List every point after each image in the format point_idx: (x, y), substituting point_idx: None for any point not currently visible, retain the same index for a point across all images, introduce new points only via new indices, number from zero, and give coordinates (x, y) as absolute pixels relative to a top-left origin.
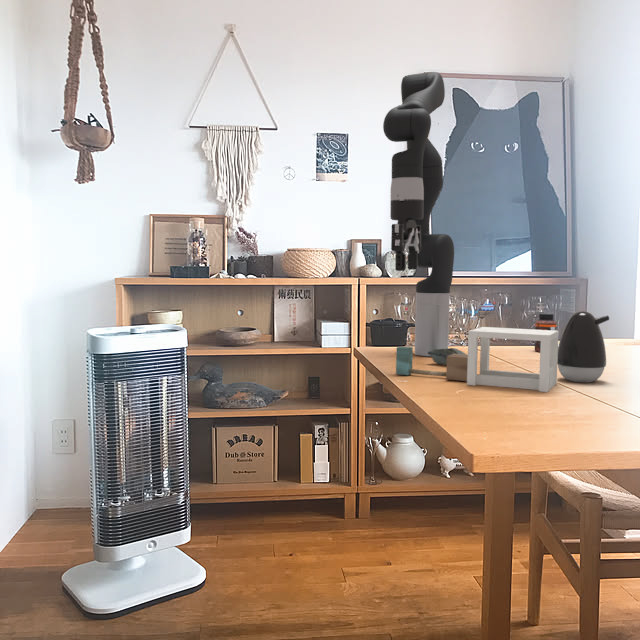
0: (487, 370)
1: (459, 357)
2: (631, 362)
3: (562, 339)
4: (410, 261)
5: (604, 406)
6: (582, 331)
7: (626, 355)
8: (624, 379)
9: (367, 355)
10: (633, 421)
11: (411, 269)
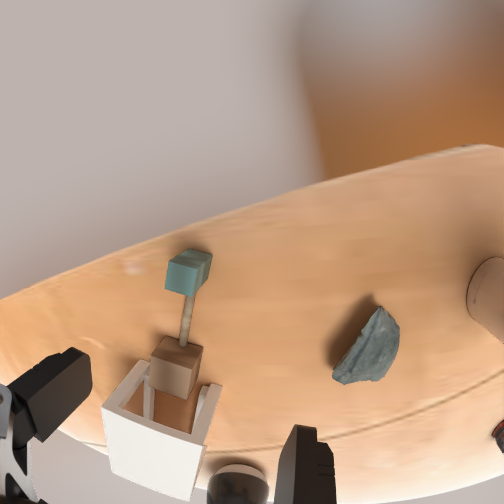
0: (198, 399)
1: (149, 372)
2: (406, 498)
3: (223, 499)
4: (288, 471)
5: (98, 440)
6: None
7: (457, 485)
8: (269, 497)
9: (465, 156)
10: (62, 431)
11: (290, 435)
